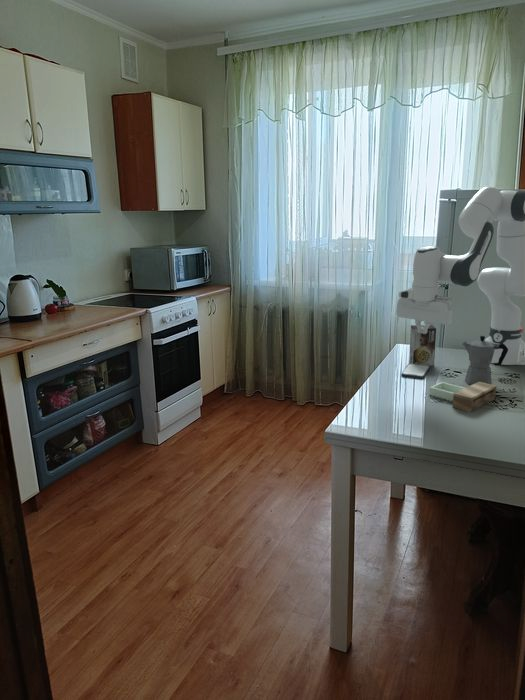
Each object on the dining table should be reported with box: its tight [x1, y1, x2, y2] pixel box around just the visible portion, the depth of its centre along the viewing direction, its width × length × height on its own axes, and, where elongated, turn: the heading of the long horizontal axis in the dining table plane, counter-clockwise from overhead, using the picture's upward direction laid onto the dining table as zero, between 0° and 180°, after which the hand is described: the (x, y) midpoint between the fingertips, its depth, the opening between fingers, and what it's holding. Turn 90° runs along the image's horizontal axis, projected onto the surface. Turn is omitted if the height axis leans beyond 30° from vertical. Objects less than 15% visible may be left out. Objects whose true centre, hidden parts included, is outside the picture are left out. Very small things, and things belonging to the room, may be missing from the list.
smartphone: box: [400, 363, 431, 380], centre depth 203 cm, size 9×2×16 cm
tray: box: [428, 381, 465, 403], centre depth 174 cm, size 8×16×3 cm, turn 41°
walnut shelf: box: [452, 382, 497, 413], centre depth 170 cm, size 17×6×5 cm, turn 131°
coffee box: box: [408, 324, 437, 367], centre depth 212 cm, size 9×6×16 cm
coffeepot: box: [462, 335, 508, 386], centre depth 187 cm, size 15×9×18 cm, turn 66°
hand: (422, 332), depth 180 cm, fingers closed
